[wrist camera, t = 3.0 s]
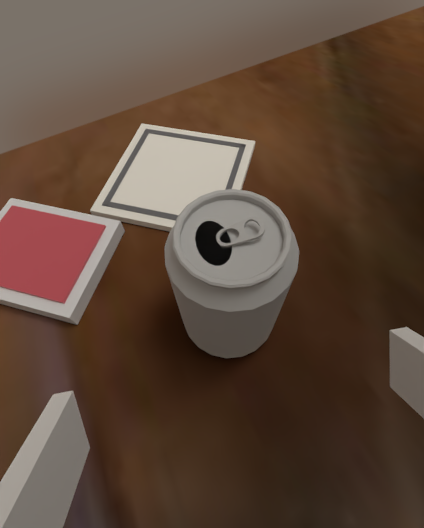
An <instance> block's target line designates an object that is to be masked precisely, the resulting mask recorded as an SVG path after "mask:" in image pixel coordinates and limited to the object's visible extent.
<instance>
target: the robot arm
mask: <svg viewBox="0 0 424 528" xmlns="http://www.w3.org/2000/svg"><path fill="white" fill-rule="evenodd" d="M390 387H391V388H392V389H393V390H394V391H395V392H396V393H397V394H398V395H399V396H400V397H401V398H402V399H403V400H405V401H406V402H407V403H408V404H409V405H410V406H411V407H412V408H413V409H414V410H415V411H416V412H417V413H418V414H419V415H421V416H422V417H423V418H424V337H422V336H421V335H419V334H417V333H416V332H414V331H413V330H411V329H409V328H408V327H404V328H399V329H393V330H390ZM89 449H90V446H89V443H88V439H87V436H86V433H85V429H84V426H83V422H82V419H81V416H80V412H79V409H78V406H77V402H76V399H75V396H74V392H73V391H68V392H63V393H58V394H53V396H52V397H51V399H50V401H49V402H48V404H47V406H46V407H45V409H44V410H43V412H42V414H41V415H40V417H39V419H38V420H37V422H36V424H35V425H34V427H33V429H32V430H31V432H30V434H29V435H28V437H27V439H26V440H25V442H24V444H23V445H22V447H21V449H20V450H19V452H18V454H17V455H16V457H15V458H14V460H13V462H12V463H11V465H10V467H9V468H8V470H7V472H6V473H5V475H4V477H3V478H2V480H1V482H0V528H63V526H64V523H65V520H66V517H67V514H68V511H69V508H70V505H71V502H72V499H73V497H74V494H75V491H76V488H77V485H78V482H79V479H80V476H81V473H82V470H83V467H84V464H85V461H86V458H87V455H88V452H89Z"/></svg>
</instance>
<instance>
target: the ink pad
mask: <svg viewBox="0 0 424 528" xmlns="http://www.w3.org/2000/svg"><path fill="white" fill-rule="evenodd" d="M124 232H125V230H124V228H123V226H122V223H121V221H118V220H113V219H109V218H104V217H99V216H94V215H90V214H85V213H80V212H75V211H71V210H66V209H61V208H56V207H52V206H47V205H42V204H37V203H33V202H28V201H23V200H18V199H14V198H10V200H9V201H8V202H7V204H6V205H5V206H4V207H3V209H2V210H1V211H0V304H3V305H7V306H10V307H14V308H17V309H21V310H25V311H28V312H32V313H36V314H39V315H43V316H47V317H50V318H54V319H58V320H61V321H65V322H69V323H72V324H76V325H78V323H79V321H80V319H81V317H82V315H83V313H84V311H85V309H86V307H87V305H88V303H89V301H90V299H91V297H92V295H93V293H94V291H95V289H96V287H97V285H98V283H99V281H100V279H101V277H102V275H103V273H104V271H105V269H106V267H107V265H108V263H109V262H110V260H111V258H112V256H113V254H114V252H115V250H116V248H117V246H118V244H119V242H120V240H121V238H122V236H123V234H124Z"/></svg>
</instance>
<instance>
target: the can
mask: <svg viewBox="0 0 424 528" xmlns="http://www.w3.org/2000/svg"><path fill="white" fill-rule="evenodd" d="M298 259H299V249H298V245H297V242H296V238H295V235H294V233H293V231H292V230H291V228H290V224H289V221H288V219H287V218H286V216H285V215H284V214H283V212H282V211H281V209H280V208H279V207H278V206H276V205H275V204H274V203H272V202H271V201H270V200H268V199H267V198H266V197H263V196H261V195H258V194H256V193H253V192H251V191H244V190H237V189H228V190H217V191H214V192H211V193H208V194H205V195H202V196H200V197H198V198H197V199H195V200H194V201H192V202H191V203H189V204H188V205H187V206H186V207H185V208H184V209H183V211H182V212H181V213H180V214H179V216H178V217H177V219H176V222H175V225H174V226H173V228H172V229H171V230H170V233H169V236H168V238H167V241H166V244H165V266H166V269H167V272H168V275H169V279H170V282H171V285H172V288H173V291H174V295H175V298H176V301H177V304H178V307H179V311H180V314H181V317H182V320H183V324H184V326H185V328H186V331H187V333H188V336H189V337H190V338H191V340H192V341H193V342H194V343H195V344H196V345H197V346H198V347H199V348H200V349H202V350H204V351H205V352H207V353H209V354H211V355H213V356H218V357H223V358H235V357H243V356H245V355H247V354H249V353H251V352H254V351H256V350H257V349H258V348H259V347H260V346H261V345H262V344H263V343H264V342H265V341H266V340H267V339H268V337H269V335H270V333H271V331H272V329H273V326H274V324H275V322H276V319H277V317H278V314H279V312H280V310H281V307H282V305H283V303H284V300H285V298H286V295H287V293H288V291H289V288H290V286H291V284H292V281H293V279H294V276H295V274H296V272H297V269H298Z"/></svg>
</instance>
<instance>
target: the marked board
mask: <svg viewBox="0 0 424 528" xmlns="http://www.w3.org/2000/svg"><path fill="white" fill-rule="evenodd" d="M254 148H255V141H251V140H245V139H238V138H232V137H225V136H219V135H212V134H206V133H200V132H193V131H187V130H180V129H174V128H167V127H161V126H154V125H148V124H141V126H140V128H139V129H138V131H137V133H136V134H135V136H134V138H133V139H132V141H131V143H130V144H129V146H128V148H127V149H126V151H125V153H124V154H123V156H122V158H121V159H120V161H119V163H118V164H117V166H116V168H115V169H114V171H113V173H112V175H111V176H110V178H109V180H108V181H107V183H106V185H105V186H104V188H103V190H102V191H101V193H100V195H99V196H98V198H97V200H96V201H95V203H94V205H93V206H92V208H91V210H90V211H91V213H92V215H94V216H99V217H104V218H109V219H113V220H118V221H121V222H126V223H130V224H135V225H140V226H145V227H149V228H154V229H159V230H164V231H168V232H170V230H171V229H172V228H173V226H174V225H175V222H176V219H177V217H178V216H179V214H180V213H181V212H182V211H183V209H184V208H185V207H186V206H187V205H188V204H189V203H191V202H192V201H194V200H195V199H197V198H198V197H200V196H202V195H205V194H208V193H211V192H214V191H217V190H228V189H237V190H242V187H243V184H244V181H245V177H246V174H247V171H248V167H249V164H250V161H251V158H252V154H253V151H254Z"/></svg>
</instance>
